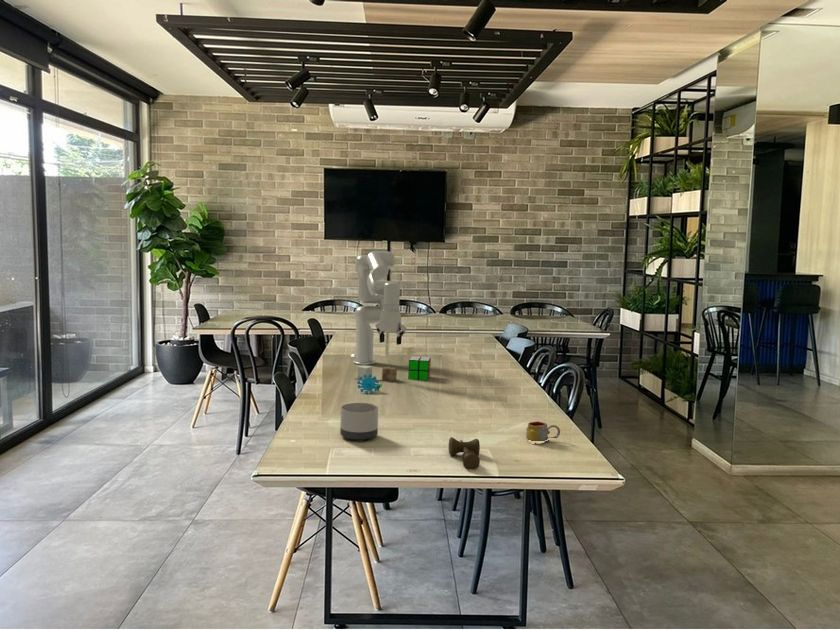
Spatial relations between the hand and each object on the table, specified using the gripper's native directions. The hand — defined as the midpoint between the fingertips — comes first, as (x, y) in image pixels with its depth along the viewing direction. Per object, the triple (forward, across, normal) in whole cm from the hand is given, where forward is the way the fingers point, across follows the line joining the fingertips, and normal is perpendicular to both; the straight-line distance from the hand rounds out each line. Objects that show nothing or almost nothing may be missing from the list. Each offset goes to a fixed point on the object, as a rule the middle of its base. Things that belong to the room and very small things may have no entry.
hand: (390, 343), depth 307 cm
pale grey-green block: (+18, -11, -5) cm, 22 cm away
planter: (+19, +41, -80) cm, 92 cm away
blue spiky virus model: (+19, +6, -25) cm, 32 cm away
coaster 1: (+18, -11, -5) cm, 22 cm away
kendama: (+20, +81, -78) cm, 114 cm away
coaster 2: (+18, 0, 0) cm, 19 cm away
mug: (+20, +95, -46) cm, 107 cm away
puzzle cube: (+19, +8, +15) cm, 25 cm away
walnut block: (+18, 0, 0) cm, 18 cm away
